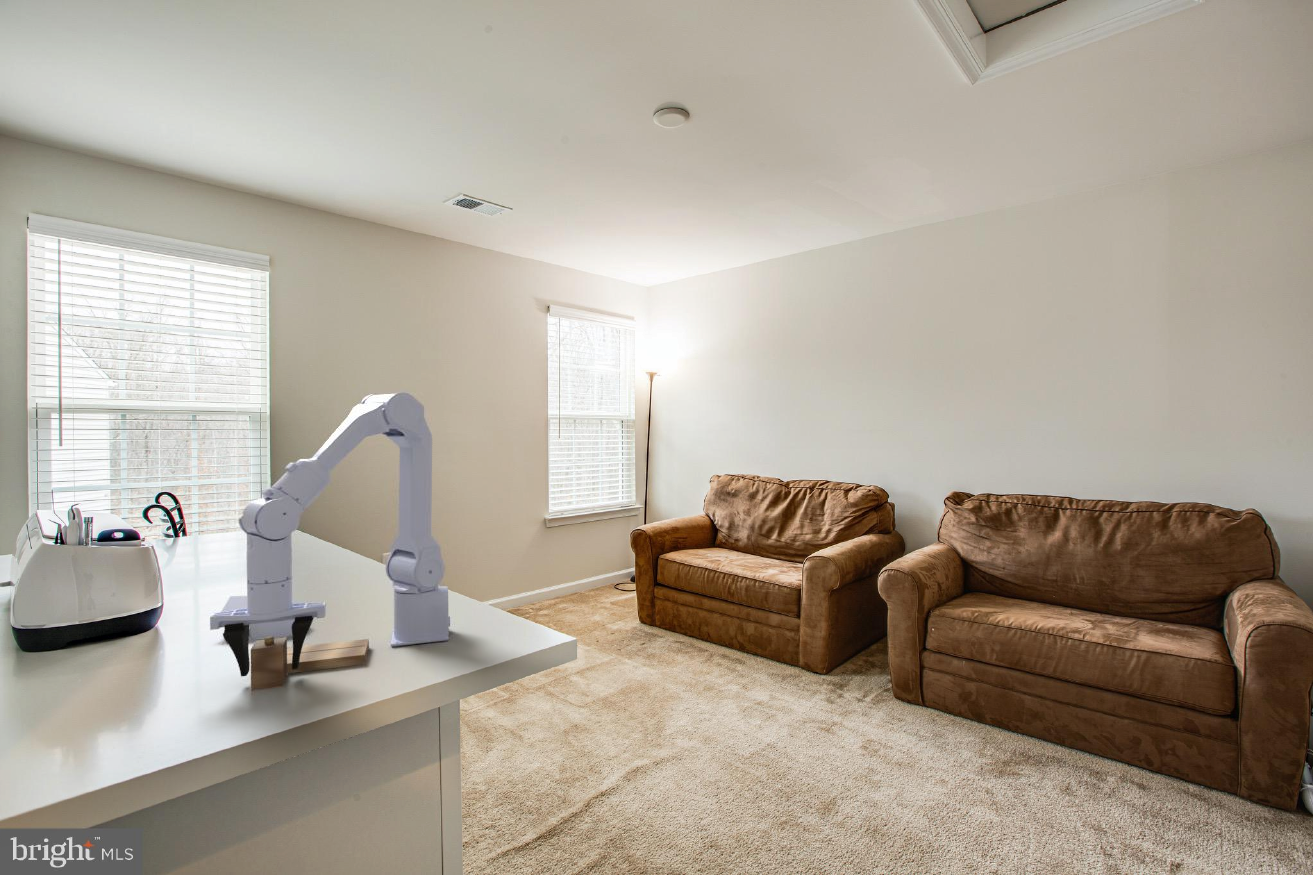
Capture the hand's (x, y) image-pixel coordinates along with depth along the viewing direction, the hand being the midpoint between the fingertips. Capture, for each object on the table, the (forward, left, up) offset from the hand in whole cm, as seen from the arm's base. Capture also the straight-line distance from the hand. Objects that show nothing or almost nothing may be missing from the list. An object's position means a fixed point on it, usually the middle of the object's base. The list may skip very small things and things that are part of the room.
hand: (270, 670), depth 93 cm
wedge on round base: (+6, -27, -2) cm, 28 cm away
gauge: (0, -2, -2) cm, 2 cm away
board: (-5, -6, -2) cm, 9 cm away
